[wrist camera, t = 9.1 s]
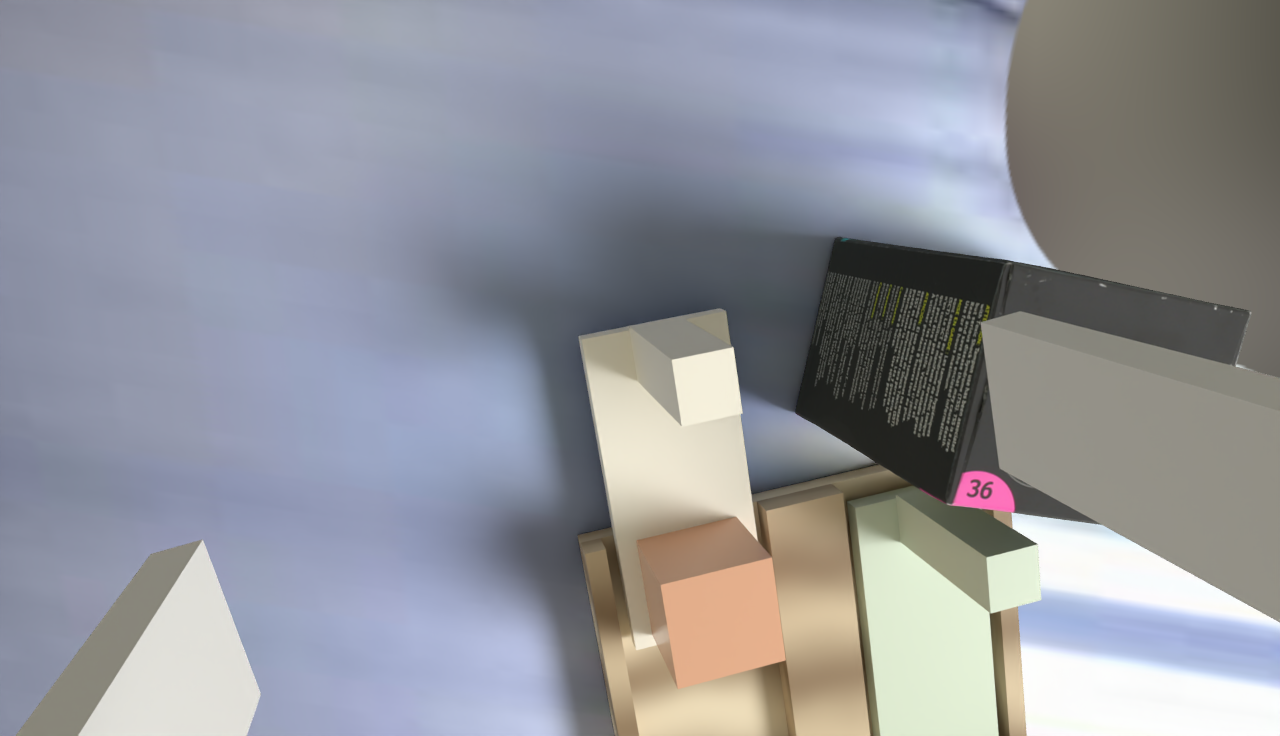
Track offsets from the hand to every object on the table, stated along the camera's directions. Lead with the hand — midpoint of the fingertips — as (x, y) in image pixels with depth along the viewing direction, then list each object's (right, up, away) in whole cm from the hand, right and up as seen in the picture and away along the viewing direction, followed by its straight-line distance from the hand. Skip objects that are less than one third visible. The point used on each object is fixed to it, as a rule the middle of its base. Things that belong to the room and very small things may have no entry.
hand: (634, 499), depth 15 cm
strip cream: (+2, -3, +30) cm, 30 cm away
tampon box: (+14, +4, +33) cm, 36 cm away
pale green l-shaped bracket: (+15, -11, +34) cm, 39 cm away
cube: (+3, -8, +30) cm, 31 cm away
